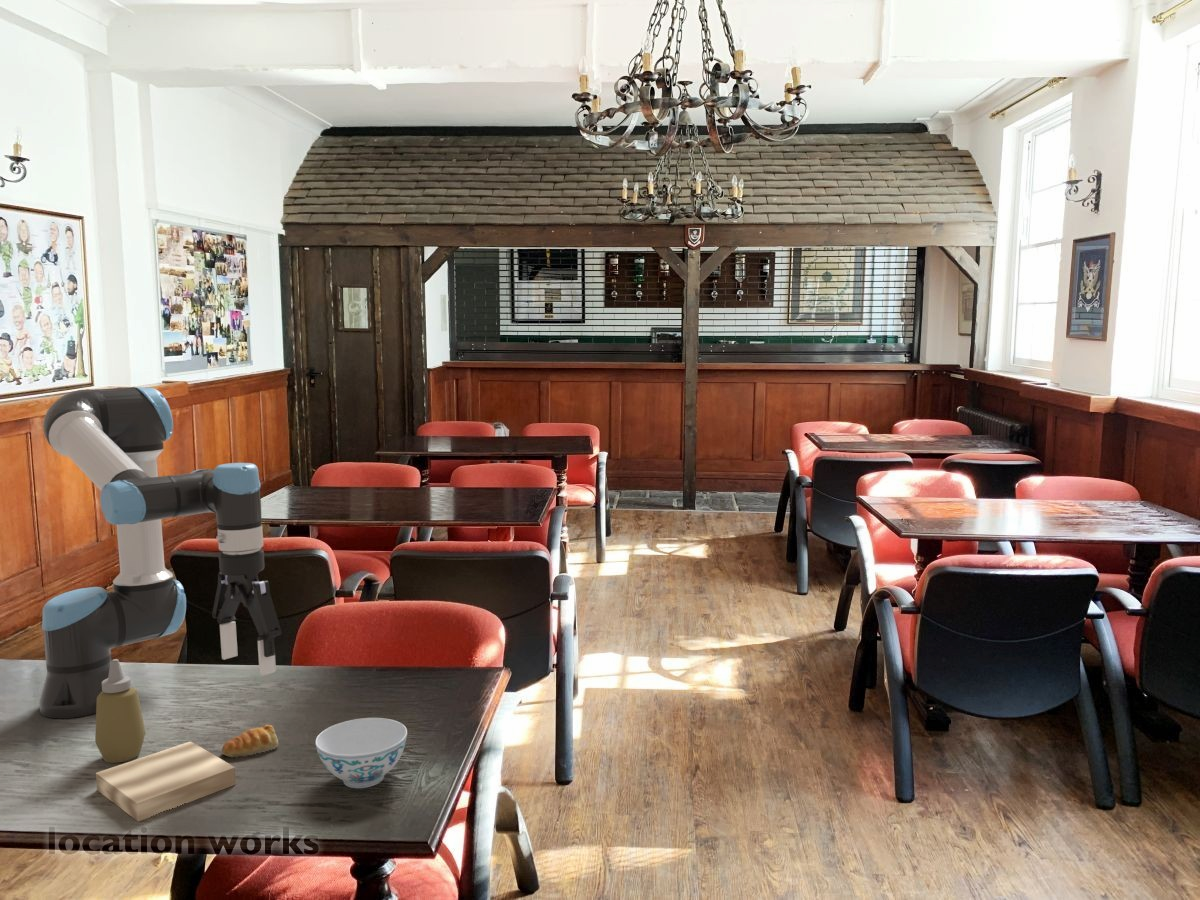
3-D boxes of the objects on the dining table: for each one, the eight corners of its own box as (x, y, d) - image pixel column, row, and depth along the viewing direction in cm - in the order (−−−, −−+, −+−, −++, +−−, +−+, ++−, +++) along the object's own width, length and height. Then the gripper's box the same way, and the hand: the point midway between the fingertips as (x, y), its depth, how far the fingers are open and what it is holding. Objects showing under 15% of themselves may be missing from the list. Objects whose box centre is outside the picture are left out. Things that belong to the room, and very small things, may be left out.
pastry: (229, 764, 165) (228, 743, 165) (217, 752, 170) (215, 732, 170) (281, 749, 171) (280, 729, 171) (268, 737, 176) (267, 718, 176)
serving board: (97, 790, 156) (95, 773, 155) (191, 757, 168) (190, 741, 167) (138, 821, 145) (136, 803, 145) (236, 784, 157) (234, 767, 157)
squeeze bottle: (98, 751, 170) (91, 656, 168) (147, 743, 174) (141, 650, 171) (94, 770, 163) (86, 670, 161) (145, 761, 166) (138, 663, 164)
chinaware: (333, 759, 166) (331, 717, 165) (417, 759, 166) (416, 717, 165) (304, 800, 151) (302, 755, 150) (396, 800, 151) (394, 755, 150)
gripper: (188, 544, 172) (195, 656, 175) (257, 563, 156) (264, 686, 158) (227, 537, 178) (233, 646, 180) (297, 555, 161) (304, 674, 164)
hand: (248, 665), depth 169 cm, fingers open, 13 cm apart
